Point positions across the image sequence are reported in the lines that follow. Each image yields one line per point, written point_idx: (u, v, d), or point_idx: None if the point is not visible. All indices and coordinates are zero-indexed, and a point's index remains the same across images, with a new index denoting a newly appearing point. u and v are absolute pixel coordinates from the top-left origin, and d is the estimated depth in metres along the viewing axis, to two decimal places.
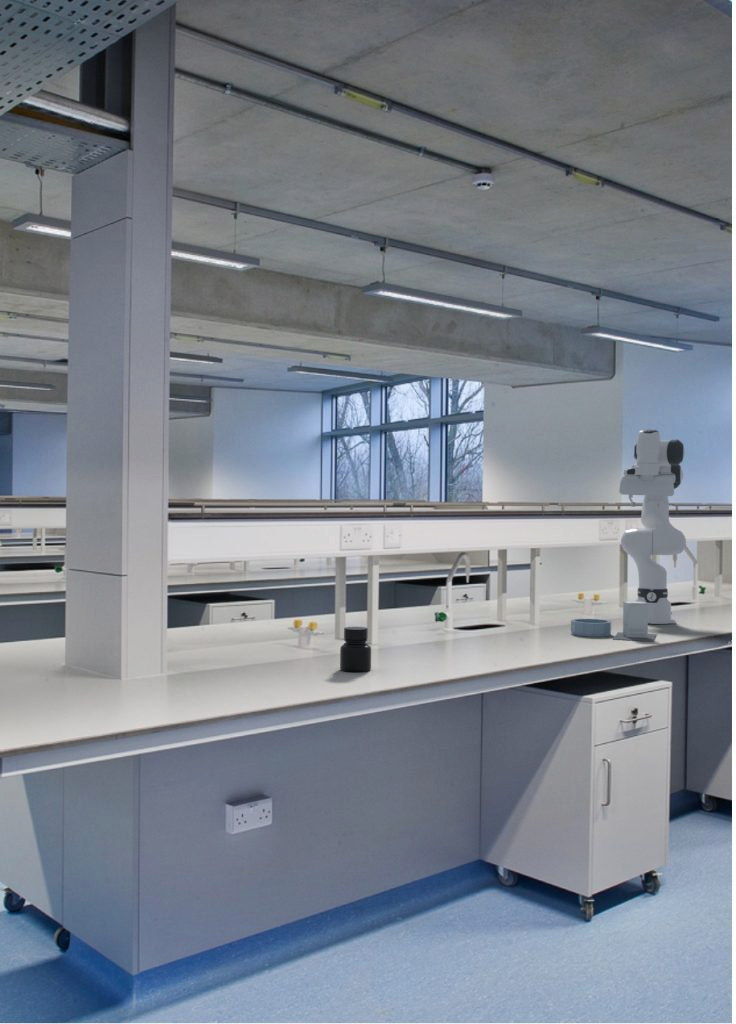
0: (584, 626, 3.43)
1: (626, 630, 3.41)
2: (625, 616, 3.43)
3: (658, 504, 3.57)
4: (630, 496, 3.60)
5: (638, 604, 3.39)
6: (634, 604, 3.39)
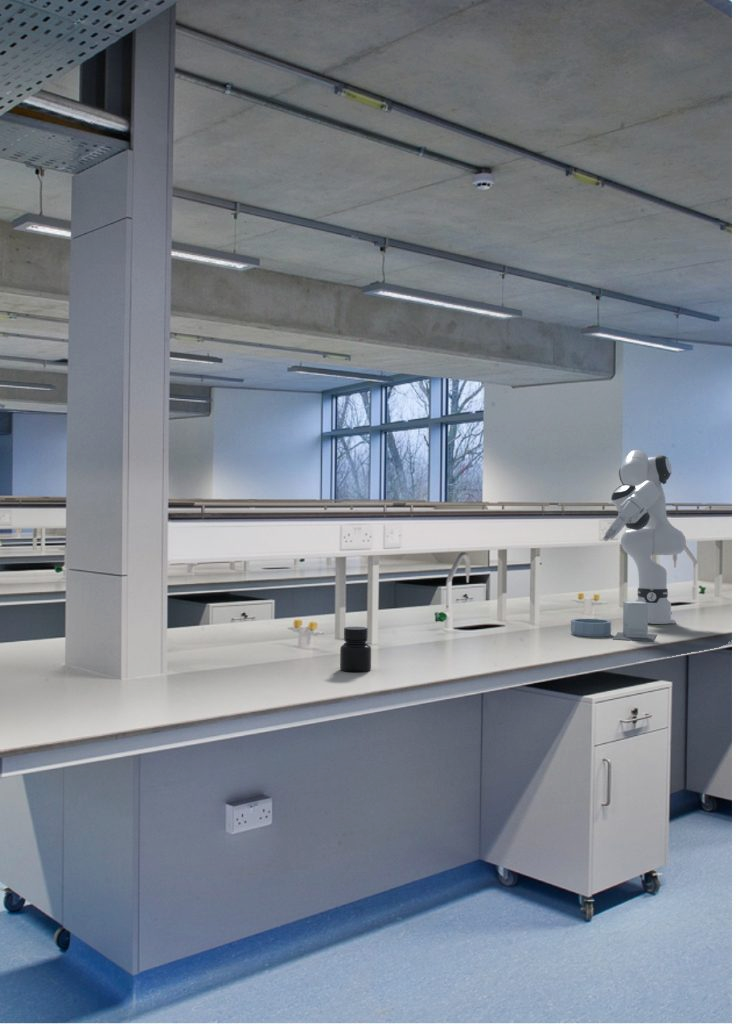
0: (584, 626, 3.43)
1: (626, 630, 3.41)
2: (625, 616, 3.43)
3: (608, 538, 3.57)
4: (622, 522, 3.49)
5: (638, 604, 3.39)
6: (634, 604, 3.39)
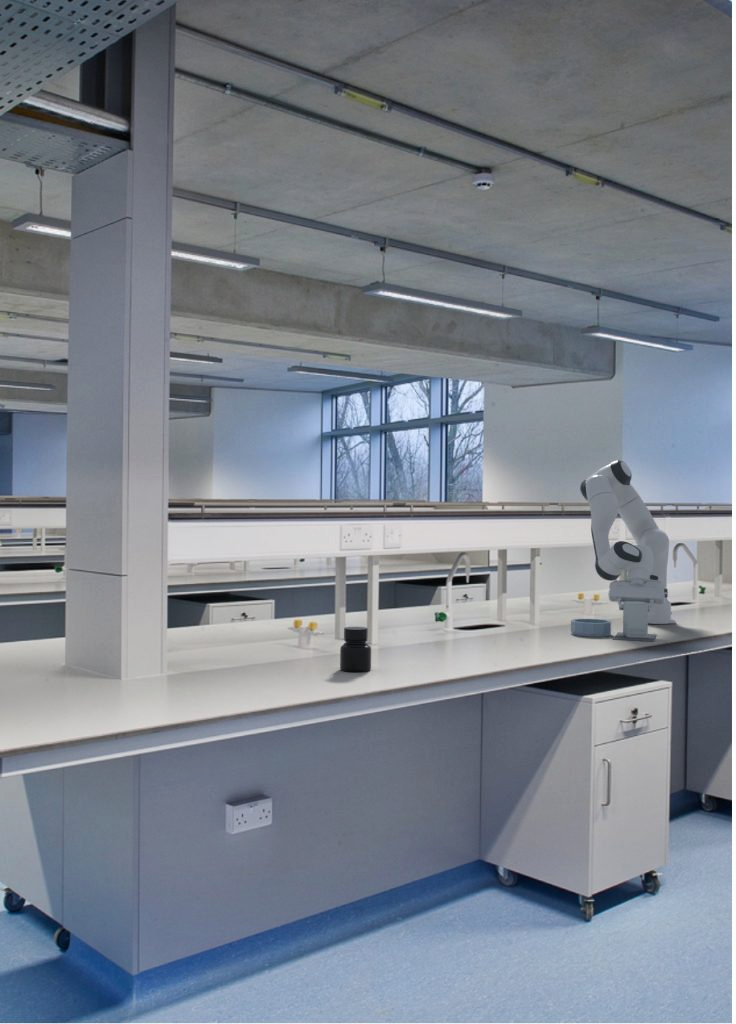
0: (584, 626, 3.43)
1: (626, 630, 3.41)
2: (625, 616, 3.43)
3: None
4: None
5: (638, 604, 3.39)
6: (634, 604, 3.39)
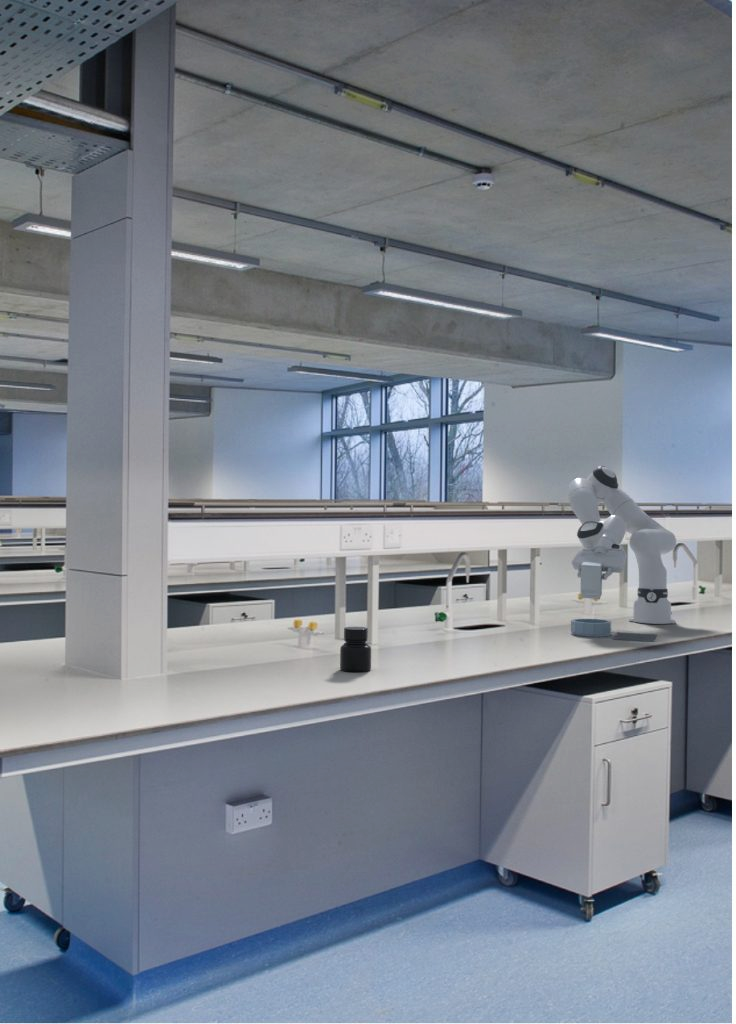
0: (584, 626, 3.43)
1: None
2: None
3: None
4: None
5: (591, 566, 3.44)
6: (587, 566, 3.44)
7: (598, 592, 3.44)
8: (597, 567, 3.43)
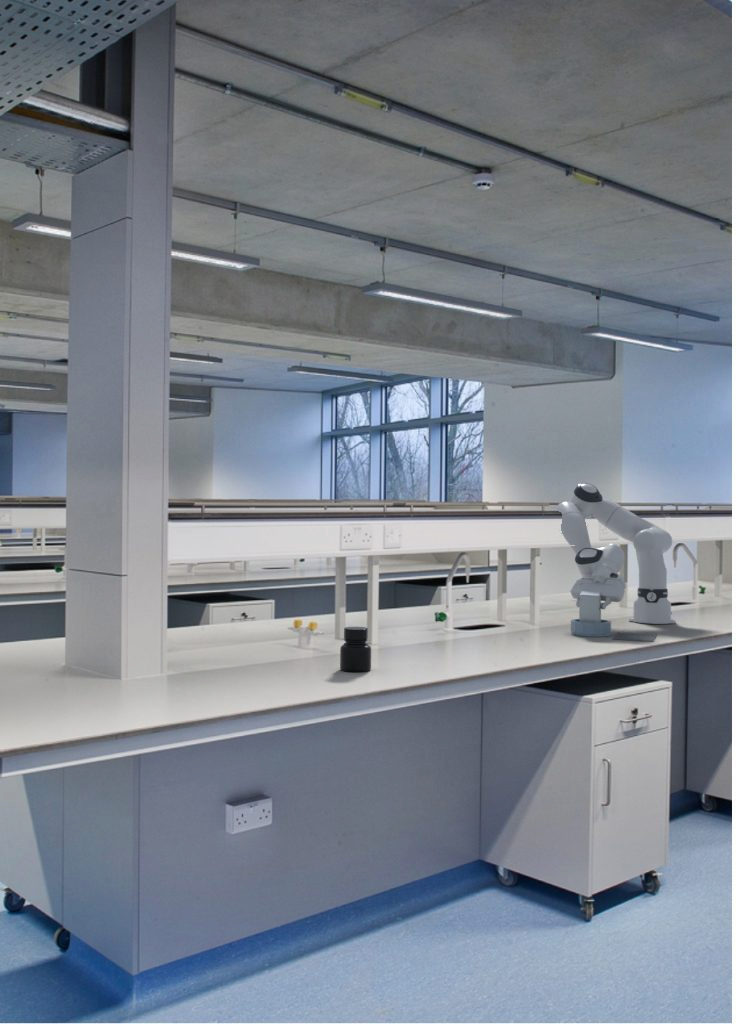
0: (584, 626, 3.43)
1: None
2: None
3: None
4: None
5: (589, 596, 3.44)
6: (585, 596, 3.45)
7: (597, 622, 3.45)
8: (595, 597, 3.44)
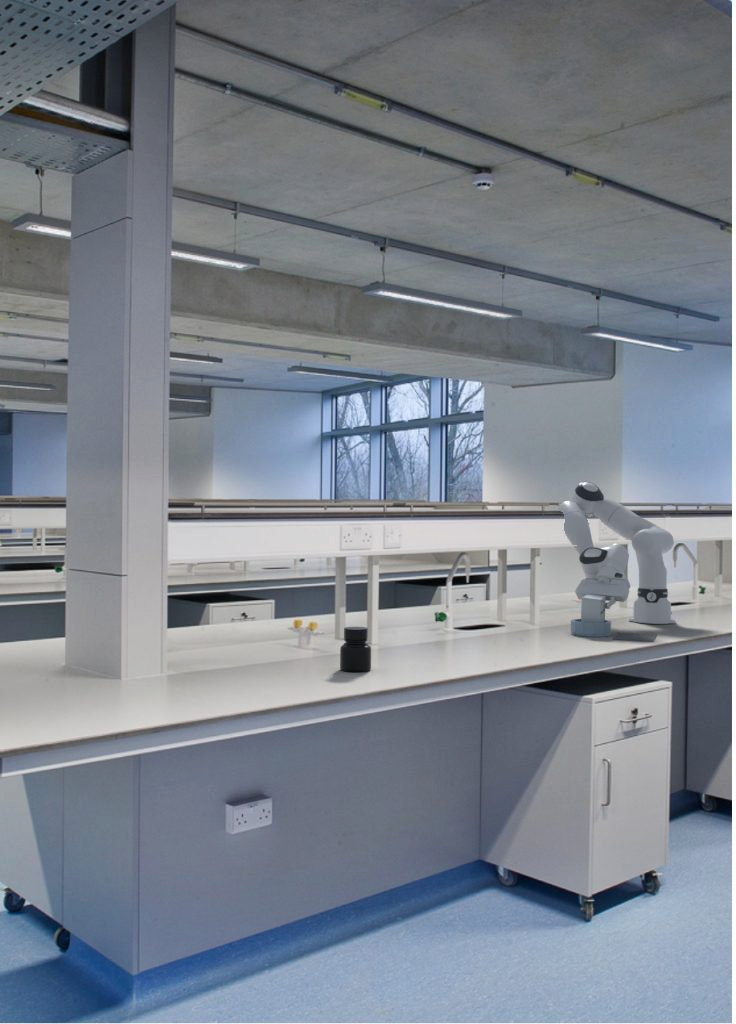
0: (584, 626, 3.43)
1: None
2: None
3: None
4: None
5: (591, 599, 3.46)
6: (587, 599, 3.46)
7: None
8: (597, 601, 3.45)
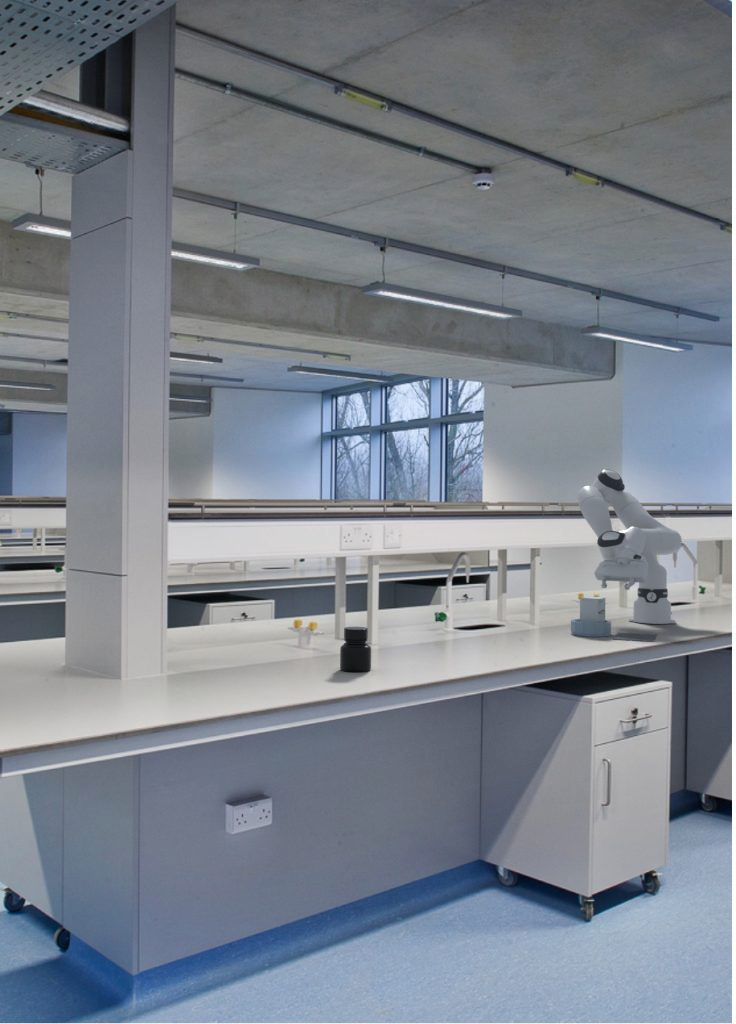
0: (584, 626, 3.43)
1: None
2: None
3: None
4: None
5: (589, 599, 3.48)
6: (585, 599, 3.48)
7: None
8: (595, 600, 3.46)
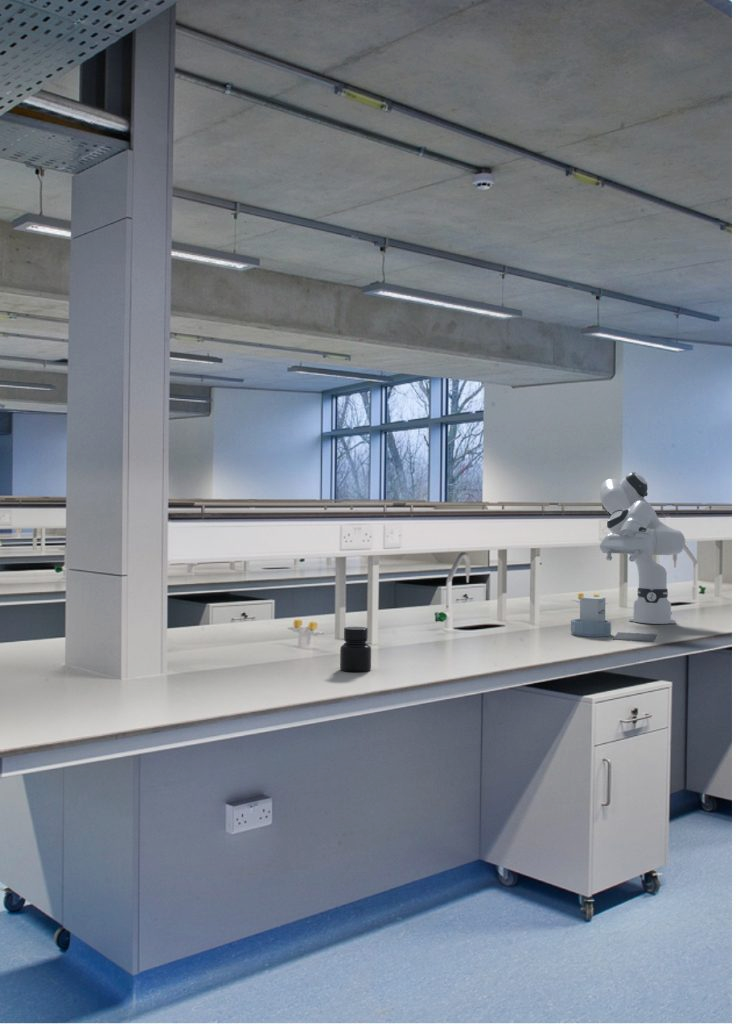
0: (584, 626, 3.43)
1: None
2: None
3: None
4: None
5: (589, 599, 3.48)
6: (585, 599, 3.48)
7: None
8: (595, 600, 3.46)
